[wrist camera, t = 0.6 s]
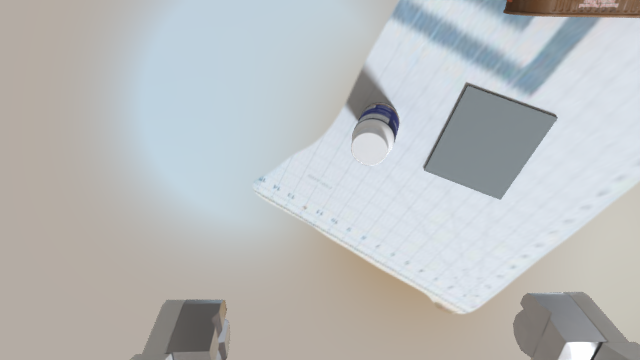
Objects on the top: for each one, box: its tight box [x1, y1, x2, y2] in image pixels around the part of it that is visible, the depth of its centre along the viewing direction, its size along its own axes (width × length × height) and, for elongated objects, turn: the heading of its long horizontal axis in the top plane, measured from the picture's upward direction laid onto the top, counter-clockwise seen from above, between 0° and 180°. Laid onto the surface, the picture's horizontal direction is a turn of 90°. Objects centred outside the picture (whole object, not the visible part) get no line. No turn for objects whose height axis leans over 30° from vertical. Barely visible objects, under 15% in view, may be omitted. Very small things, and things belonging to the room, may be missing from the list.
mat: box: [424, 85, 557, 200], centre depth 54 cm, size 14×12×1 cm
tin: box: [503, 0, 640, 18], centre depth 39 cm, size 15×3×8 cm, turn 92°
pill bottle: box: [351, 103, 399, 165], centre depth 52 cm, size 6×6×10 cm
